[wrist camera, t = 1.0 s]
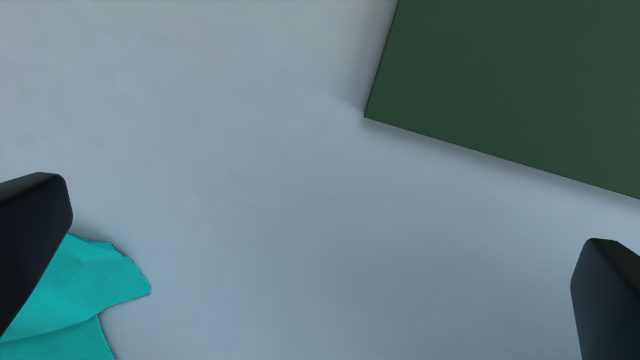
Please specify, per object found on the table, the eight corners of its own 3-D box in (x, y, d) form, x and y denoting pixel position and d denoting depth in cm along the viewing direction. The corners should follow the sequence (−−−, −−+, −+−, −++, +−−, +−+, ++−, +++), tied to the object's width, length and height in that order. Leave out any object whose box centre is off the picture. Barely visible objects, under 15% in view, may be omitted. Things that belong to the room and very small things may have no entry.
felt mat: (723, 221, 22) (731, 227, 22) (363, 114, 23) (363, 117, 22) (879, -22, 18) (894, -23, 18) (442, -143, 19) (444, -147, 18)
